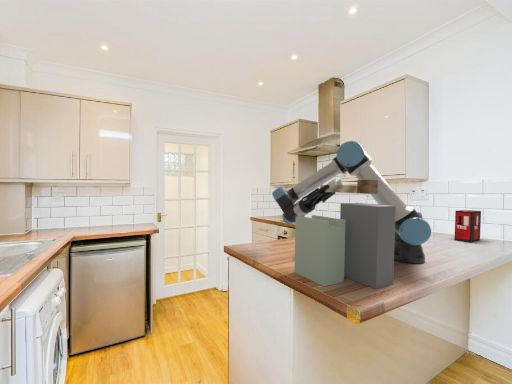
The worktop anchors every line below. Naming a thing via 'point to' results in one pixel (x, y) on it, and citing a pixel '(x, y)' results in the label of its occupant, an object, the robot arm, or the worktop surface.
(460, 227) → the cleaning product box
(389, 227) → the tall grey upright slab
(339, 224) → the sage green tall box
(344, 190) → the mallet
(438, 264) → the worktop surface
